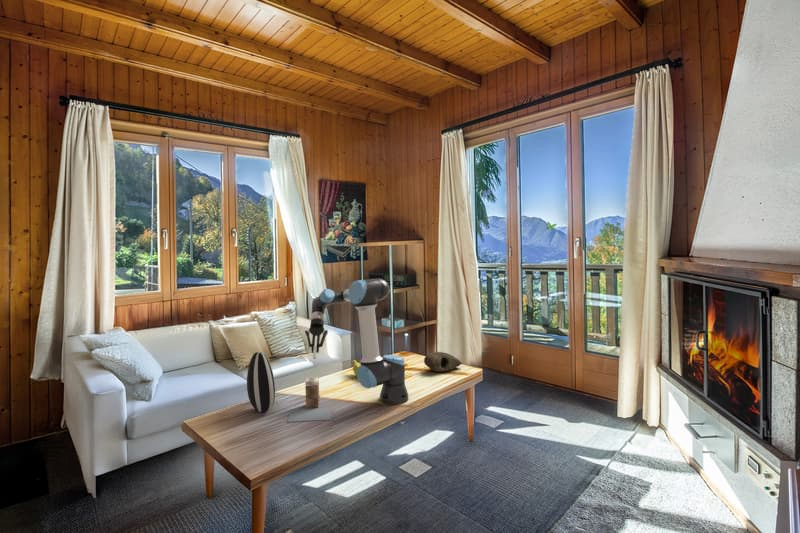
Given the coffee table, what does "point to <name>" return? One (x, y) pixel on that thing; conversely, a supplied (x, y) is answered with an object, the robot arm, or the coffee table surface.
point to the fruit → (355, 366)
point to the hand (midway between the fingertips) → (314, 357)
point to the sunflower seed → (260, 383)
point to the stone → (441, 361)
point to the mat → (310, 414)
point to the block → (312, 393)
